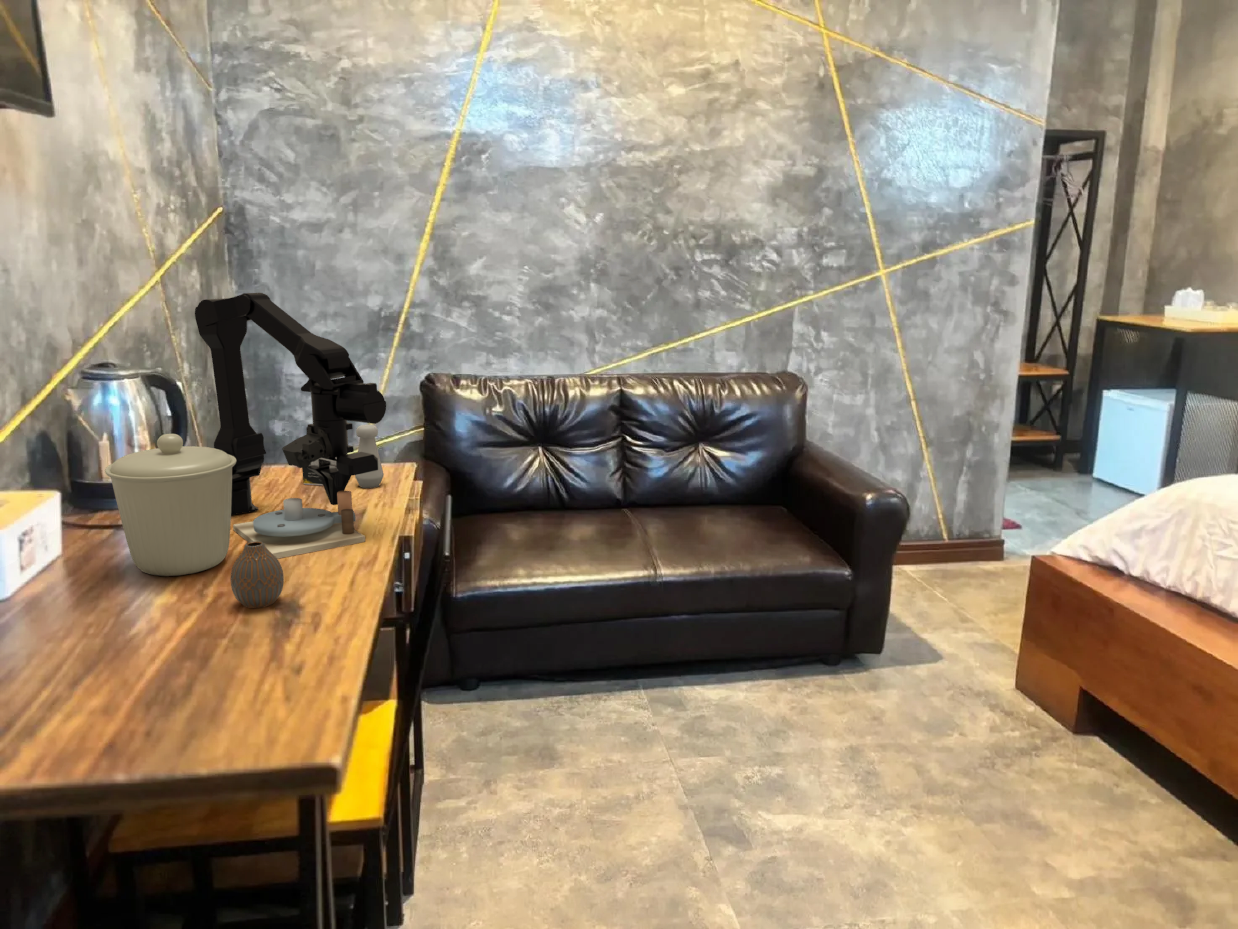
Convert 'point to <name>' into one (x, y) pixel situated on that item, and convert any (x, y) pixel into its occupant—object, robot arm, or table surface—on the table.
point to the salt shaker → (369, 446)
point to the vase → (256, 576)
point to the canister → (174, 506)
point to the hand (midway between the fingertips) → (334, 504)
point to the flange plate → (301, 518)
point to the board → (306, 537)
